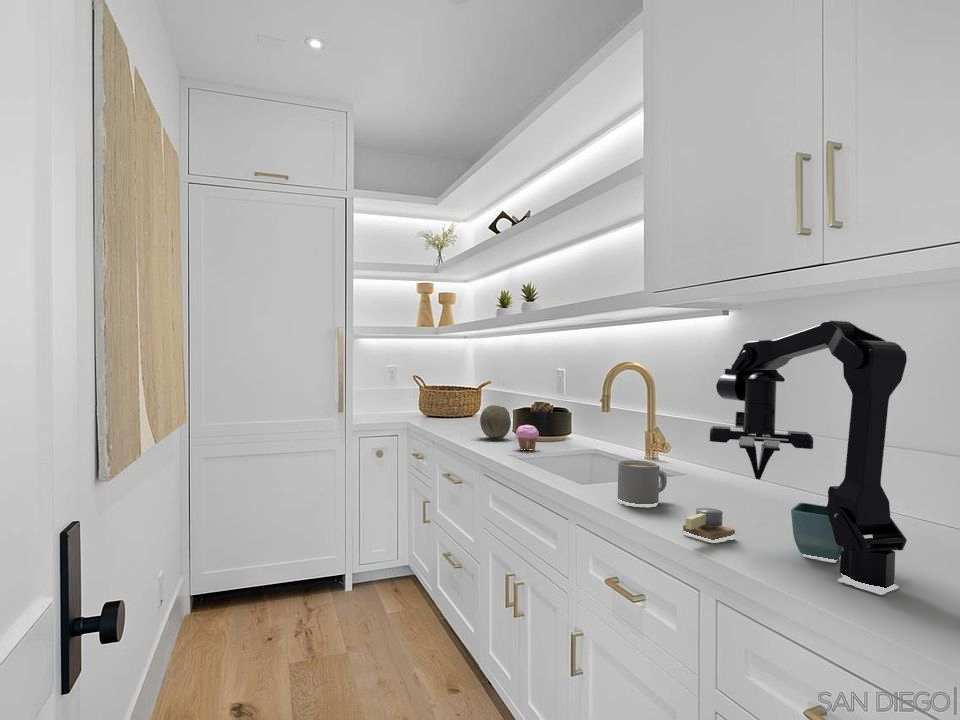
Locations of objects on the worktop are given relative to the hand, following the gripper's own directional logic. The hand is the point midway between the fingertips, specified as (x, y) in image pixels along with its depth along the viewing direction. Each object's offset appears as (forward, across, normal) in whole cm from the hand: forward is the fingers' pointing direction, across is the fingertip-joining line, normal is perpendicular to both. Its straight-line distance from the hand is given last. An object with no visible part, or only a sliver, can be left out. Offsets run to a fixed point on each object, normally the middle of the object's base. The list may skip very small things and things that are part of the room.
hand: (757, 479), depth 117 cm
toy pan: (+9, +10, +7) cm, 15 cm away
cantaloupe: (+13, +98, -106) cm, 144 cm away
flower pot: (+12, -10, +8) cm, 18 cm away
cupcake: (+13, +76, -84) cm, 114 cm away
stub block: (+12, +9, +4) cm, 16 cm away
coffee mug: (+12, +24, -19) cm, 33 cm away
